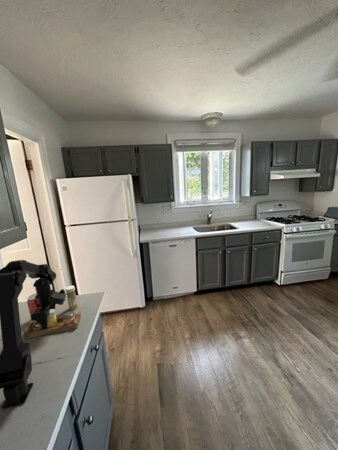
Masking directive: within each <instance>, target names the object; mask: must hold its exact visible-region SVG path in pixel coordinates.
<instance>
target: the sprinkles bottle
mask: <svg viewBox="0 0 338 450" xmlns="http://www.w3.org/2000/svg"><path fill="white" fill-rule="evenodd" d="M64 290H65V293H66V299H67V305H68V309H69V310H68V311H75V310H77V309H78V308H79V307H78V301H77V300H78V299H77V295H76V288H75V286H74V285H69V286H66V287H65V289H64Z"/></svg>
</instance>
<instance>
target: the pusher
mask: <svg viewBox="0 0 338 450" xmlns="http://www.w3.org/2000/svg"><path fill="white" fill-rule="evenodd" d="M34 328H39V329H40V330H43V329H45V328H44V327H43V326H42V325H41V324H38V325H34Z"/></svg>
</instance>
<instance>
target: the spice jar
mask: <svg viewBox="0 0 338 450" xmlns="http://www.w3.org/2000/svg"><path fill="white" fill-rule="evenodd" d="M75 314H76V312H75V311H74V310H69V311H67V312H65V313H63V314H62V318H63V322H64V326H65V325H70V324H74V321H75Z"/></svg>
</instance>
